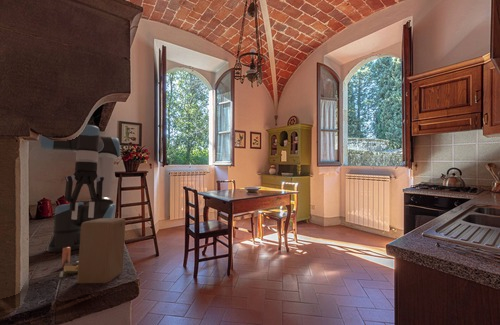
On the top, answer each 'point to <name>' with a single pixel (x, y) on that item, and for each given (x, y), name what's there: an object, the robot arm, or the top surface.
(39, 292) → the top surface
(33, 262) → the top surface
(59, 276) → the level base
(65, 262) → the crank handle
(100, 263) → the wooden block
